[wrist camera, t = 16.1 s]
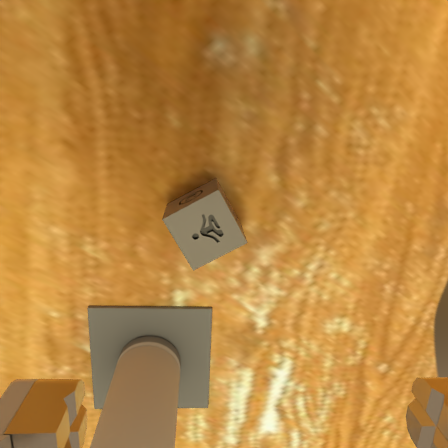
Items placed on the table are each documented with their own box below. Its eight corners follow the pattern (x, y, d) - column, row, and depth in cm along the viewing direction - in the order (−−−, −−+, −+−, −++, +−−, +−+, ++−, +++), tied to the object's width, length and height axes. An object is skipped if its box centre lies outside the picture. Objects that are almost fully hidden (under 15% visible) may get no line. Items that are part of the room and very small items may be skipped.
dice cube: (241, 224, 36) (247, 242, 31) (194, 248, 36) (193, 270, 31) (215, 177, 34) (218, 189, 29) (167, 203, 35) (162, 219, 30)
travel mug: (103, 362, 39) (9, 614, 19) (150, 323, 38) (99, 548, 18) (147, 398, 40) (100, 663, 21) (193, 361, 39) (187, 605, 20)
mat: (88, 305, 37) (87, 308, 37) (211, 307, 38) (212, 309, 37) (95, 405, 41) (94, 408, 40) (208, 405, 41) (208, 407, 41)
